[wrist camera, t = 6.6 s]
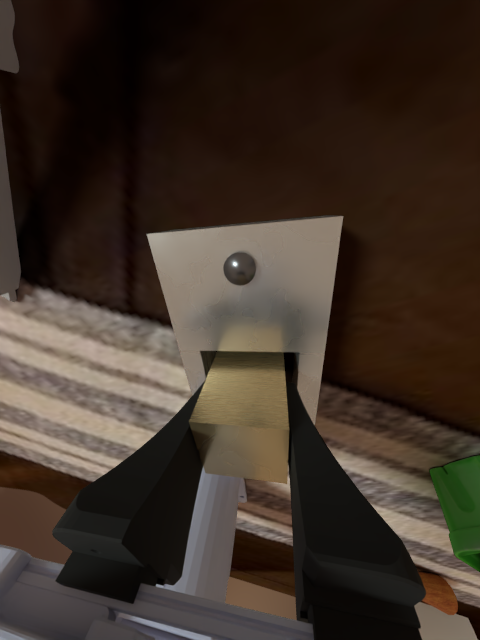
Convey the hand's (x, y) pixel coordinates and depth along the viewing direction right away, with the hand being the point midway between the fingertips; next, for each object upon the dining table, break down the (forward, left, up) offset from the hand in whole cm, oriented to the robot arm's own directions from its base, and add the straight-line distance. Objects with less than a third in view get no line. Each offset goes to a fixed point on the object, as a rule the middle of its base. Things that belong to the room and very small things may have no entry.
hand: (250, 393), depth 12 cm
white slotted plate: (0, 0, -3) cm, 3 cm away
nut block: (0, 0, -2) cm, 2 cm away
